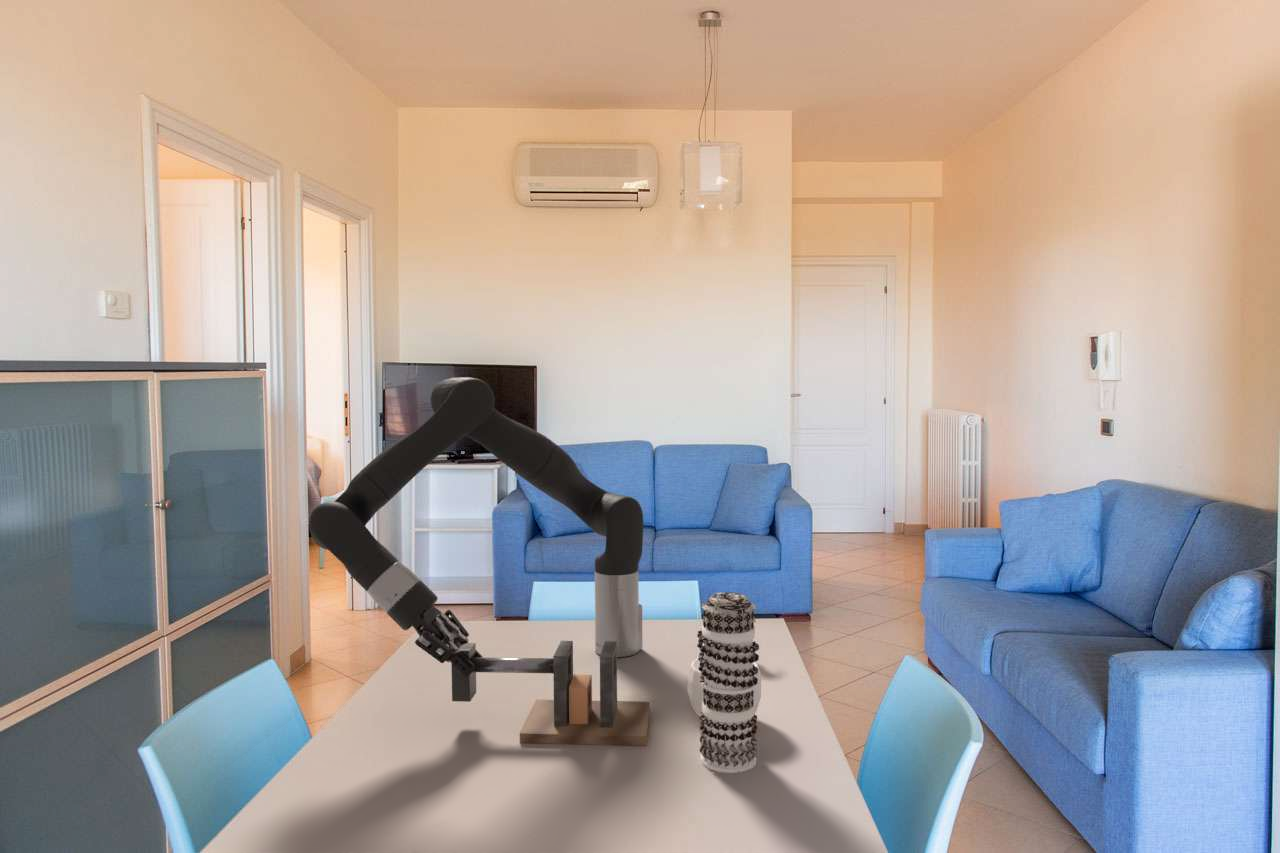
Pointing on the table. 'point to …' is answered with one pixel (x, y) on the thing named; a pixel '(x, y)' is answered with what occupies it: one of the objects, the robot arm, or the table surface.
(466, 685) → the shaft
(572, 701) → the spacer
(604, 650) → the rig
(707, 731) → the decorative candle
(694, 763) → the table surface
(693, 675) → the cup
